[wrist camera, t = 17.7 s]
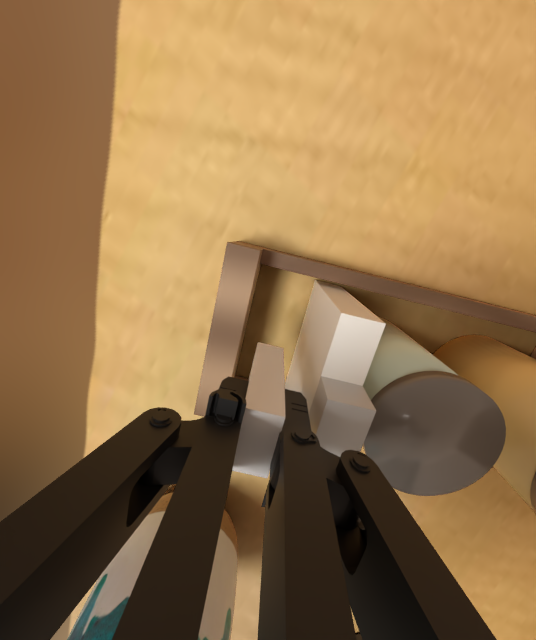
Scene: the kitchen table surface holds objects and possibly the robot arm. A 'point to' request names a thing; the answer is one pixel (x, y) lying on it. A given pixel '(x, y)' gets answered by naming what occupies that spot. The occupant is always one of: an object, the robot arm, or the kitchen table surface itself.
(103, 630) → the vase
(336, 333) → the plate
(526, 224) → the kitchen table surface
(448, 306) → the wooden spice rack
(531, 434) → the amber jar
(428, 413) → the sage jar
